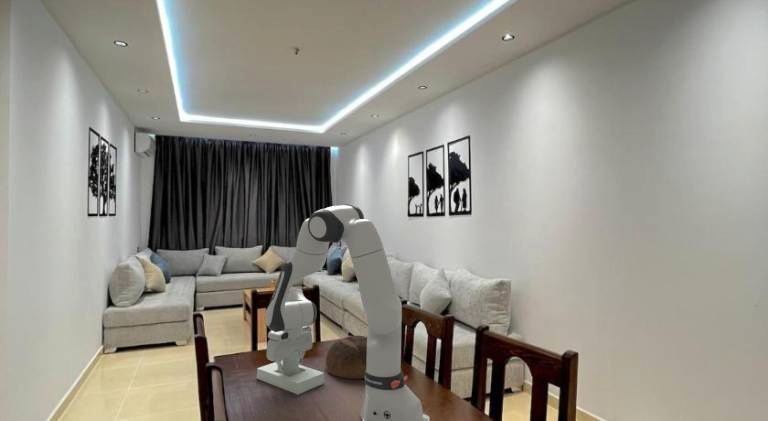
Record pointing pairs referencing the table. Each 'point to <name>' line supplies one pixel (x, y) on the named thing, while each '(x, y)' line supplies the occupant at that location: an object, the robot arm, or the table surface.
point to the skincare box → (291, 364)
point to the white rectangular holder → (291, 378)
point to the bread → (348, 357)
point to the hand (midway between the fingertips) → (290, 366)
